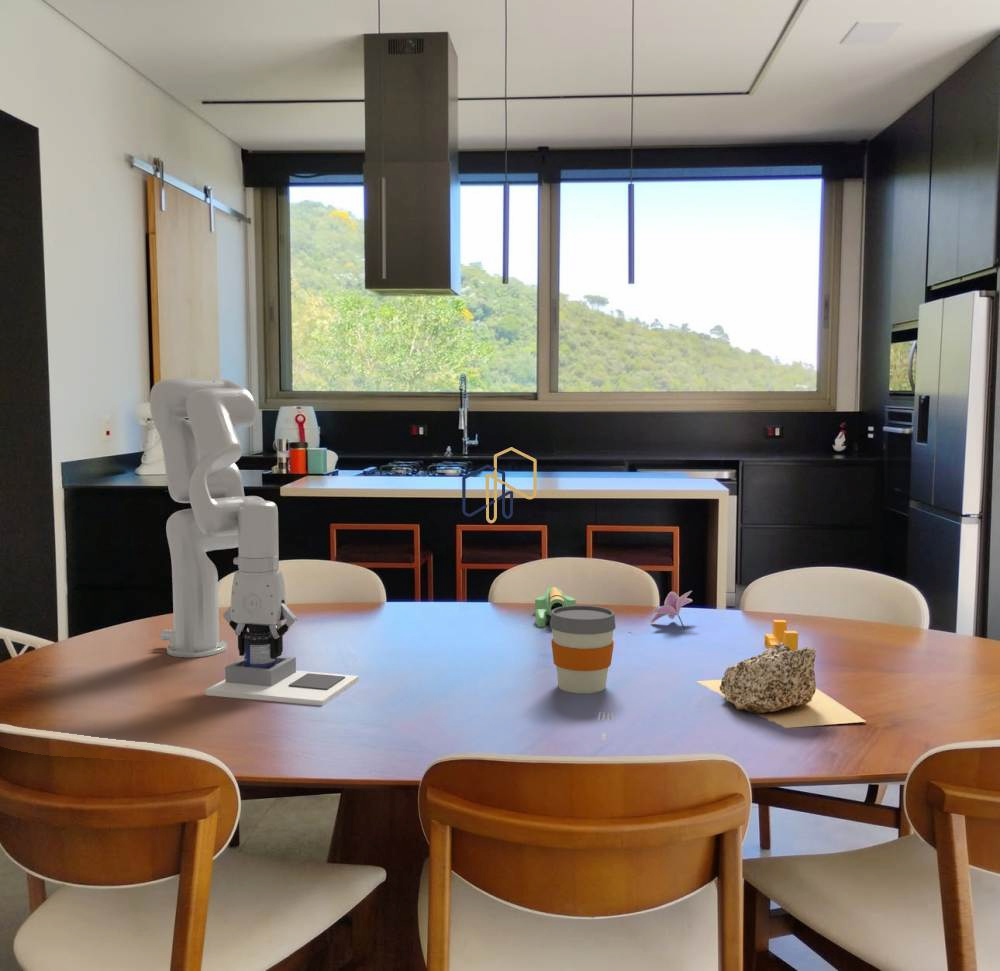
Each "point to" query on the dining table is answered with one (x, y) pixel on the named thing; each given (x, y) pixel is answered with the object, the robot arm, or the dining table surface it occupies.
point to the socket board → (281, 683)
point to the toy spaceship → (550, 604)
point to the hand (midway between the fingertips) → (260, 654)
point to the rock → (781, 689)
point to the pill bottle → (258, 647)
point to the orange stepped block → (781, 636)
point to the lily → (672, 606)
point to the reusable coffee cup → (582, 646)
